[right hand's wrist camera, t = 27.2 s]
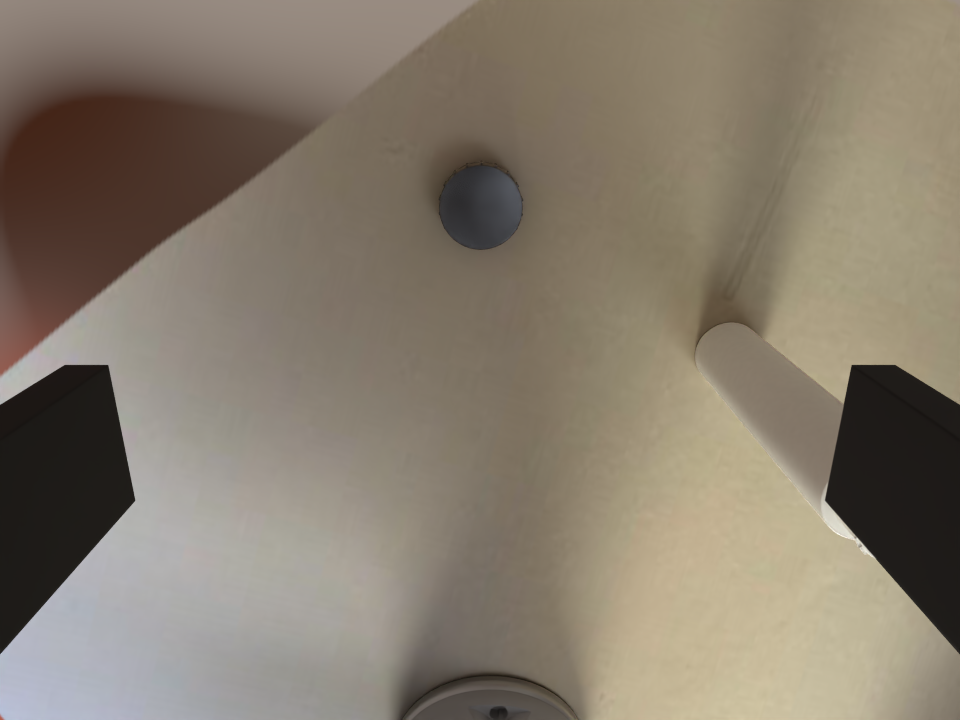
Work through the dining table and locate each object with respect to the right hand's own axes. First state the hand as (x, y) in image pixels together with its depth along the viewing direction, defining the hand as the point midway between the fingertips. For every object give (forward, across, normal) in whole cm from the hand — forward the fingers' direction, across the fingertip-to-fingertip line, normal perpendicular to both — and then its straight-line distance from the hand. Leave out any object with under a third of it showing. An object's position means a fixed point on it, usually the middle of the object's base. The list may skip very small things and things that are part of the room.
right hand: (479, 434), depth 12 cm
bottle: (+30, +16, -9) cm, 35 cm away
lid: (+28, 0, 0) cm, 28 cm away
